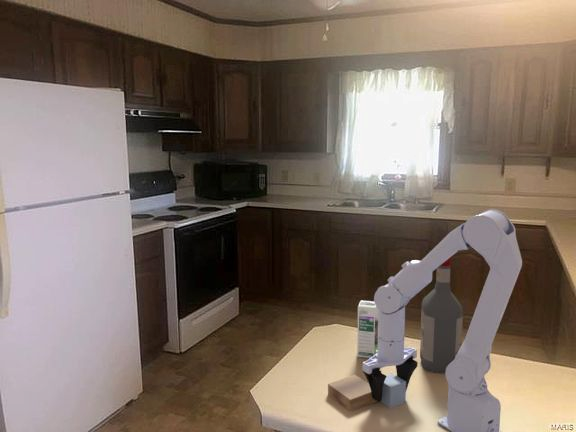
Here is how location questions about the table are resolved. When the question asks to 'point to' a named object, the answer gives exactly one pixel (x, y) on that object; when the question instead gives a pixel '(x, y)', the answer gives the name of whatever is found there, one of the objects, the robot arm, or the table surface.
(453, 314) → the liquor
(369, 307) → the syrup box
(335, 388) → the walnut block
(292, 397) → the table surface
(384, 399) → the blue block
